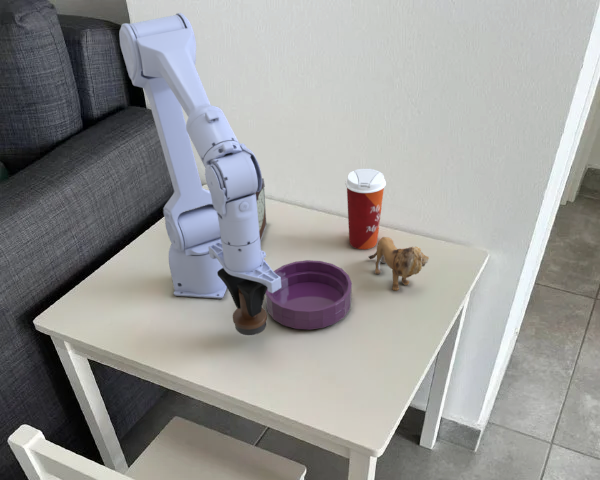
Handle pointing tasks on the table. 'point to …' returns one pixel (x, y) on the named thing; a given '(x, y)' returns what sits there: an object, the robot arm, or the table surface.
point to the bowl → (310, 295)
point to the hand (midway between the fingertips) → (249, 309)
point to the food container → (261, 210)
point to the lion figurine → (399, 260)
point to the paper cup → (364, 206)
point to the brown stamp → (248, 319)
